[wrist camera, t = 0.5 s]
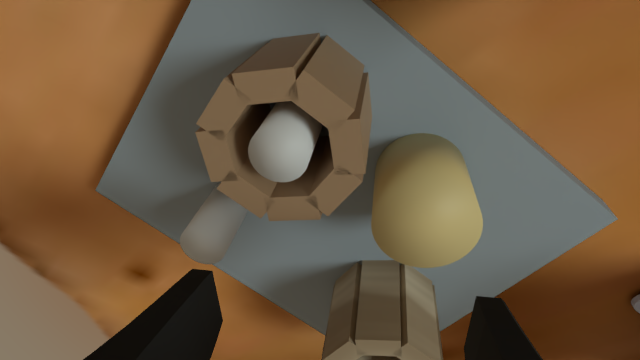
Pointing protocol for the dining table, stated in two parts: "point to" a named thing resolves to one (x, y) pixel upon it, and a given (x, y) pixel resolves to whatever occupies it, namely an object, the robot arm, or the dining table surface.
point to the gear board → (346, 235)
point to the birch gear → (383, 315)
